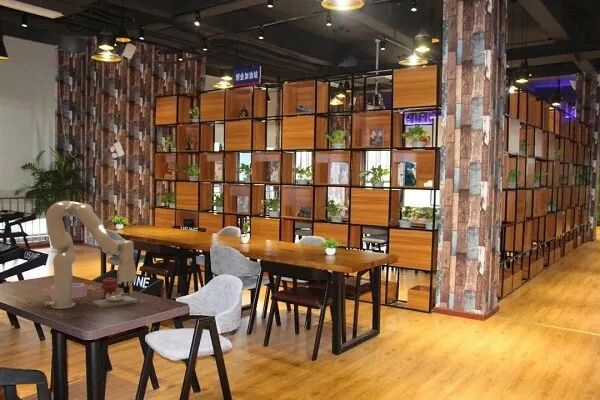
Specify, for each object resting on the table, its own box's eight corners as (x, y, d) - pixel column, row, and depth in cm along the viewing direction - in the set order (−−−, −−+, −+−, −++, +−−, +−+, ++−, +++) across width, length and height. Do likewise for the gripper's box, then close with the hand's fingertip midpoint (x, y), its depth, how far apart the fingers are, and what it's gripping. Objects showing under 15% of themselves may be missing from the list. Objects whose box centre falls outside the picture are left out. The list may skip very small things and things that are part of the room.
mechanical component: (121, 296, 331) (112, 300, 321) (107, 295, 333) (97, 299, 323) (121, 277, 330) (112, 280, 321) (107, 276, 332) (97, 279, 323)
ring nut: (132, 300, 314) (132, 285, 314) (107, 302, 308) (107, 287, 307) (129, 297, 323) (129, 282, 323) (104, 299, 317) (104, 284, 316)
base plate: (101, 307, 303) (101, 305, 303) (92, 303, 312) (92, 301, 312) (137, 302, 318) (137, 299, 318) (127, 298, 327) (127, 295, 327)
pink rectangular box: (52, 300, 319) (52, 289, 318) (49, 296, 329) (49, 285, 329) (87, 297, 329) (87, 285, 329) (83, 293, 340) (83, 282, 340)
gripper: (117, 263, 302) (116, 295, 303) (141, 261, 312) (141, 292, 313) (111, 262, 307) (111, 293, 308) (135, 259, 318) (135, 290, 318)
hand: (126, 292), depth 311 cm, fingers closed
